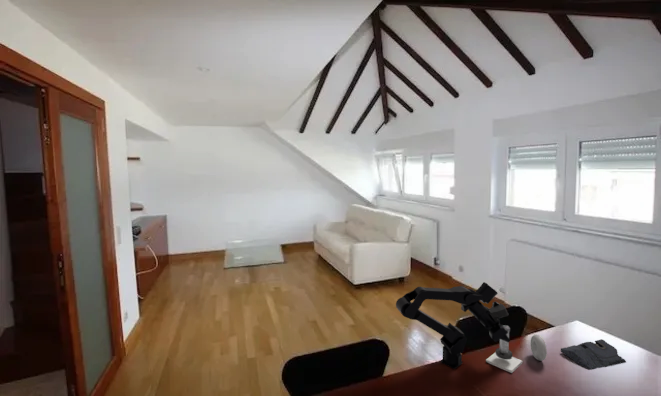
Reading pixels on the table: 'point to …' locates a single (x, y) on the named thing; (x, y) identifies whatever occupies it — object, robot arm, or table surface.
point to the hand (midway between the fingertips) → (508, 339)
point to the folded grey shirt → (593, 354)
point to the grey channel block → (504, 348)
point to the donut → (538, 347)
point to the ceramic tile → (504, 363)
